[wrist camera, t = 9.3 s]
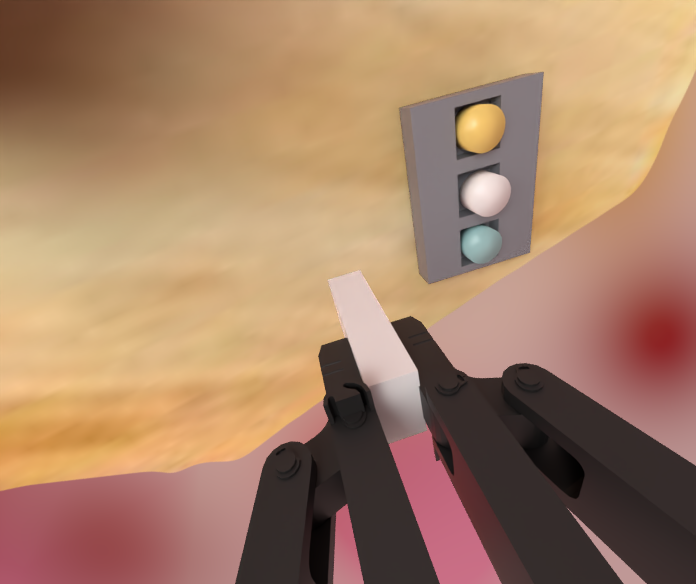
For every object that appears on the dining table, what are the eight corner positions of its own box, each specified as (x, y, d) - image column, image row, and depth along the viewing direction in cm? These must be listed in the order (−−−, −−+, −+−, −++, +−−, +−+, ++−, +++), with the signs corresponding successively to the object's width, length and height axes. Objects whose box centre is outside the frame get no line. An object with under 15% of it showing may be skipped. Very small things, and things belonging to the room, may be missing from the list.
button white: (458, 176, 36) (472, 181, 34) (495, 165, 37) (511, 169, 34) (460, 214, 39) (473, 221, 36) (495, 204, 39) (510, 210, 37)
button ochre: (449, 110, 34) (463, 110, 32) (489, 99, 34) (506, 98, 32) (452, 154, 36) (465, 158, 34) (489, 144, 37) (504, 147, 34)
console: (399, 107, 34) (409, 108, 32) (523, 74, 35) (543, 71, 33) (419, 273, 45) (428, 284, 42) (515, 244, 46) (529, 252, 43)
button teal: (455, 227, 41) (467, 235, 39) (488, 217, 41) (502, 224, 39) (457, 259, 43) (468, 268, 41) (488, 249, 44) (501, 257, 41)
